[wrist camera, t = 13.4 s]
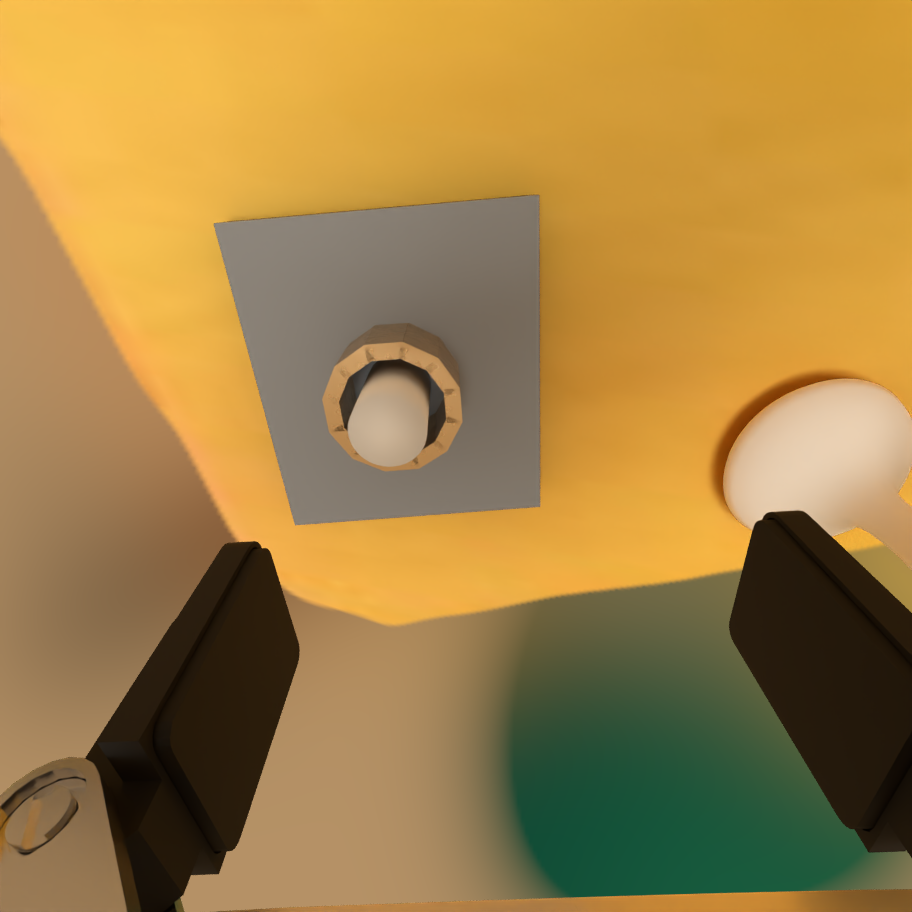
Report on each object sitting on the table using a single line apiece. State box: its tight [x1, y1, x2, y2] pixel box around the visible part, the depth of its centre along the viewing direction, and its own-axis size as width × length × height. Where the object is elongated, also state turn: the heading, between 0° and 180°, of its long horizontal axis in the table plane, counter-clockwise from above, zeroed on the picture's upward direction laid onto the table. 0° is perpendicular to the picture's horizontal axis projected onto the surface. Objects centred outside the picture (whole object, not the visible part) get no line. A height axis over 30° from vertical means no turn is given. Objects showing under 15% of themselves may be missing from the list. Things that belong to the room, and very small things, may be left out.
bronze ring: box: [322, 323, 462, 471], centre depth 27 cm, size 7×7×4 cm
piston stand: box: [214, 195, 540, 525], centre depth 27 cm, size 18×16×8 cm
